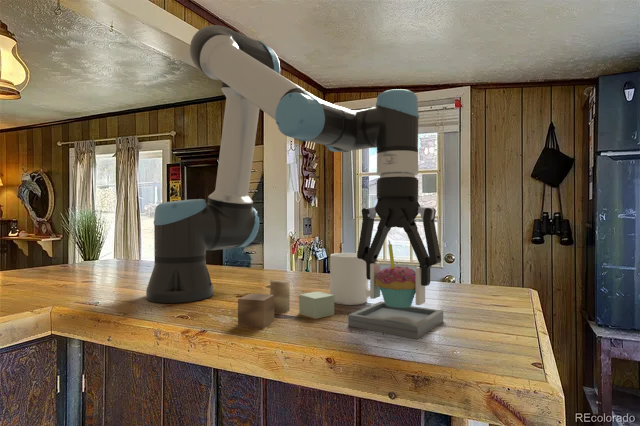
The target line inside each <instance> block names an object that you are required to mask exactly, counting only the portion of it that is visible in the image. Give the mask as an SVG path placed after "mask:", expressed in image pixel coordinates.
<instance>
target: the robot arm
mask: <svg viewBox="0 0 640 426" xmlns="http://www.w3.org/2000/svg"><path fill="white" fill-rule="evenodd" d="M189 53H190V58H191V61H192V62H193V64H194V66H195V67H196V69H197V70H199V71H200V72H202V73H203V74H204V75H206V77H209V79H212V80H215V81H221V88H220V91H222V94H223V95H224V96H225V98H226V99H225V107H224V115H223V122H222V133H221V140H220V149H219V157H218V165H217V174H216V180H215V181H216V182H215V190H214V191H212V193H211V194H209V195H208V196H207V200H206V199H204V198H203V199H202V198H198V199H197V198H196V199H183V200H182V199H181V200H174V201H173V200H172V201H166V202H160V203H158V204H157V205H156V207H155V209H154V210H155V211H154V219H153V225H154V227H153V229H154V235H153V237H154V239H153V240H154V243H153V244H154V248H153V249H154V250H153V251H154V254H153V255H154V264H153V265H154V266H153V268H152V269H153V270H152V272H151V275H150V277H149V281H148V284H147V287H146V290H145V291H146V294H145V296H146V298H145V299H146V300H147V301H149V302H152V303H161V304H176V303H177V304H179V303H180V304H181V303H190V302H196V301H197V302H198V301H202V300H206V299H208V298H211V297H213V295H214V285H213V283H212V279H211V276H210V273H209V270H208V267H207V263H206V261H207V259H206V258H207V257H206V255H207V253H206V251H216V250H217V251H218V250H226V249H227V250H228V249H230V250H235V249H238V248H244V247H246V246H249V245H250V244H251V243H252V242H253V241H254V240H255V239H256V237H257V235H258V234H259V233H258V232H259V228H260V216H258V211H257V210H256V208H255V207H254V206H253V204H254V201H253V199H252V198H251V197H250V196H249V195H250V194H249V190H250V183H251V177H252V176H251V175H252V168H253V160H254V153H255V145H256V138H257V129H258V124H259V116H260V115H259V114H260V110H261V111H262V112H264V113H265V114H267V115H268V116H269V117H270V118H272V119H273V120H275V124H276V125H277V127H278V130H279V132H280V133H281V134H283V135H284V136H286V137H289V138H292V139H294V140H296V141H299V142H309V143H314V144H318V145H324V146H325V147H326V148H327V149H328V151H331V152H333V153H334V152H335V153H339V152H343V153H348V152H353V151H357V150H365V149H375V148H376V175H377V176H378V177H379V178H377V179H376V199H377V200H376V205H375V206H374V207H362V209H361V217H362V222H361V229H360V236H359V241H358V246H357V248H358V249H357V252H356V253H357V258H358V259H362V260H364V261H365V262H366V271H367V272H366V277H367V279H368V281H370V282H369V284H370V285H369V289H370V297H369V298H370V299H371V300H372V299H373V300H374V299H377V298H379V297H381V290H380V288H379V287H377V285H376V284H375V278H376V275H377V274H378V273H379V272H380V271H381V262H378V261H379V259H378V258H379V255H380V252H381V251H382V248H383V246H384V243H385V241H386V238H387V236H388V235H389V232H390V231H391V230H392V228H399V229H402V228H403V231H404V233H406V235H407V237H408V241H409V242H410V245H411V247H412V249H413V251H414V254H415V257H416V260H417V261H418V266H416V267H415V272H416V293H415V305H416V306H421V305H423V304H425V303H426V287H427V286H429V285H430V284H431V268H432V266H434V265H438V264H440V263H442V256H441V250H440V245H439V240H438V235H437V229H436V222H435V220H436V219H435V218H436V212H437V210H436V209H435V207H424V206H421V205H420V202H419V179H418V178H417V177H416V176H417V175H418V174H419V119H420V115H419V114H420V113H419V101H418V99H419V98H418V96H417V94H416V93H415V92H413V91H411V90H409V89H402V88H400V89H399V88H398V89H397V88H396V89H388V90H385V91H383V92H380V93H379V94H378V95H377V97H376V103H375V106H373V107H370V108H366V109H360V110H351V109H349V108H347V107H343V106H339V105H337V104H334V103H331V102H328V101H325V100H323V99H321V98H319V97H317V96H315V95H314V94H312V93H310V92H309V91H307V90H305V89H304V88H303V87H301V86H299V85H298V84H296V83H294V82H292V81H291V80H290V79H288V78H286V77H285V76H283V75H281V66H280V65H281V64H280V59H279V57H278V55H277V54H276V51H275V50H274V49H273V48H272V47H270V46H268V45H267V44H265V43H263V42H262V41H261V40H256V39H254V38H251V37H250V36H246V35H245V34H242V33H240V32H238V31H235V30H233V29H231V28H228V27H226V26H222V25H219V24H218V25H217V24H211V25H207V26H203V27H201V28H200V29H198V30H197V31H196V33H195V34H194V35H193V36H192V38H191V41H190V45H189ZM206 201H207V202H206ZM376 214H377V215H376ZM419 214H420V218H421V219H422V225H423V231H424V234H425V236H424V237H425V242H426V246H427V247H426V246H425V245H424V242H423V240H422V238H421V236H420V233H419V230H418V225H417V224H416V220H415V219H416V218H417V216H418V215H419ZM376 216H377V217H378V218H379V219H380V220H379V223H378V224H377V227H376V229H377V230H376V232H375V234H374V237H373V231H374V224H375V218H376ZM372 237H373V239H372ZM426 248H427V249H426Z"/></svg>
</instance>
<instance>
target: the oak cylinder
mask: <svg viewBox="0 0 640 426" xmlns="http://www.w3.org/2000/svg"><path fill="white" fill-rule="evenodd" d="M290 283H291V281H290V280H289V279H288V280H287V279H274V280H270V283H269V284H270V286H269V289H270V290H269V293H270V294H269V295H274V313H277V314H278V313H280V314H281V313H287V311H288V312H290V301H291V300H290V299H291V298H290V291H291V290H290Z"/></svg>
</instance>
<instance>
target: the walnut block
mask: <svg viewBox="0 0 640 426" xmlns="http://www.w3.org/2000/svg"><path fill="white" fill-rule="evenodd" d="M273 322H275V312H274V295H270V294H269V293H268V294H266V293H265V294H264V293H252V292H251V293H248V294H246V295H243V296H241V297H239V298H237V327H244V328H253V329H266V327H268V326H270V325H271V324H273Z"/></svg>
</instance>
